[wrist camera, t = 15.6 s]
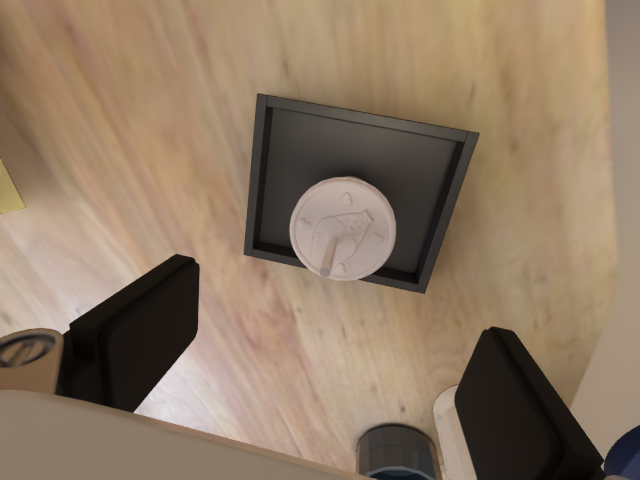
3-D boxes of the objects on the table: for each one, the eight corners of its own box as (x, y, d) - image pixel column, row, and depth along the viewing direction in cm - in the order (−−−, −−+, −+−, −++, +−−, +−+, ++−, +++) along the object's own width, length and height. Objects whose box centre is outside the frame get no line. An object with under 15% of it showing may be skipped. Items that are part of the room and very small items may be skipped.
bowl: (446, 434, 36) (458, 480, 31) (423, 485, 39) (430, 533, 35) (366, 415, 37) (366, 457, 32) (350, 466, 40) (348, 511, 35)
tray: (469, 132, 25) (480, 133, 22) (420, 280, 30) (424, 294, 27) (266, 95, 26) (256, 93, 23) (252, 245, 31) (243, 255, 28)
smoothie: (298, 190, 28) (239, 251, 15) (357, 143, 26) (347, 165, 13) (342, 244, 29) (323, 345, 16) (401, 204, 27) (435, 281, 14)
